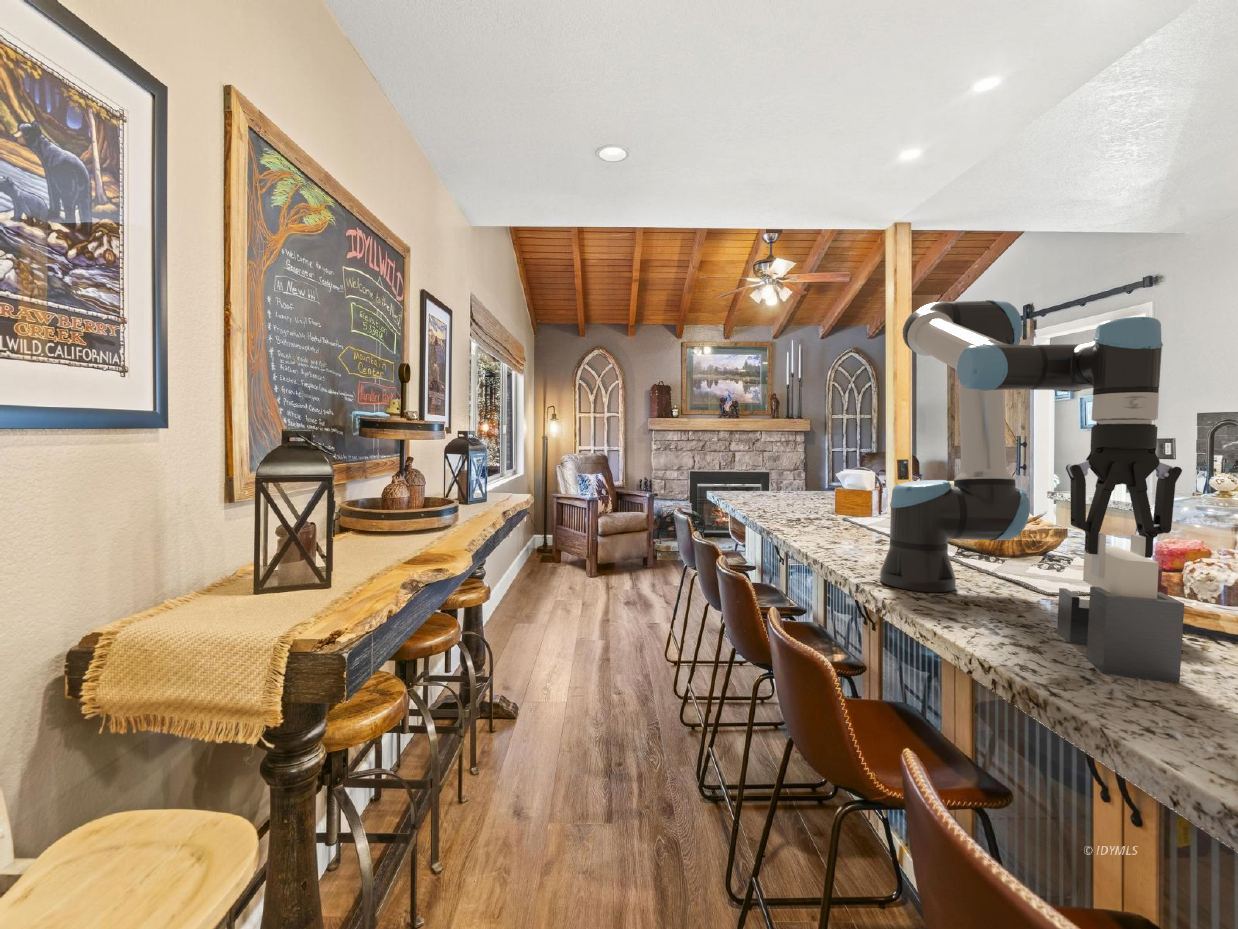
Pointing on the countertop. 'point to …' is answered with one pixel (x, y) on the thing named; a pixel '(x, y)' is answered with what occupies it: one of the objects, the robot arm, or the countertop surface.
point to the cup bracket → (1135, 635)
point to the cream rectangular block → (1124, 574)
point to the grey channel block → (1073, 617)
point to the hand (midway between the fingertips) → (1116, 576)
